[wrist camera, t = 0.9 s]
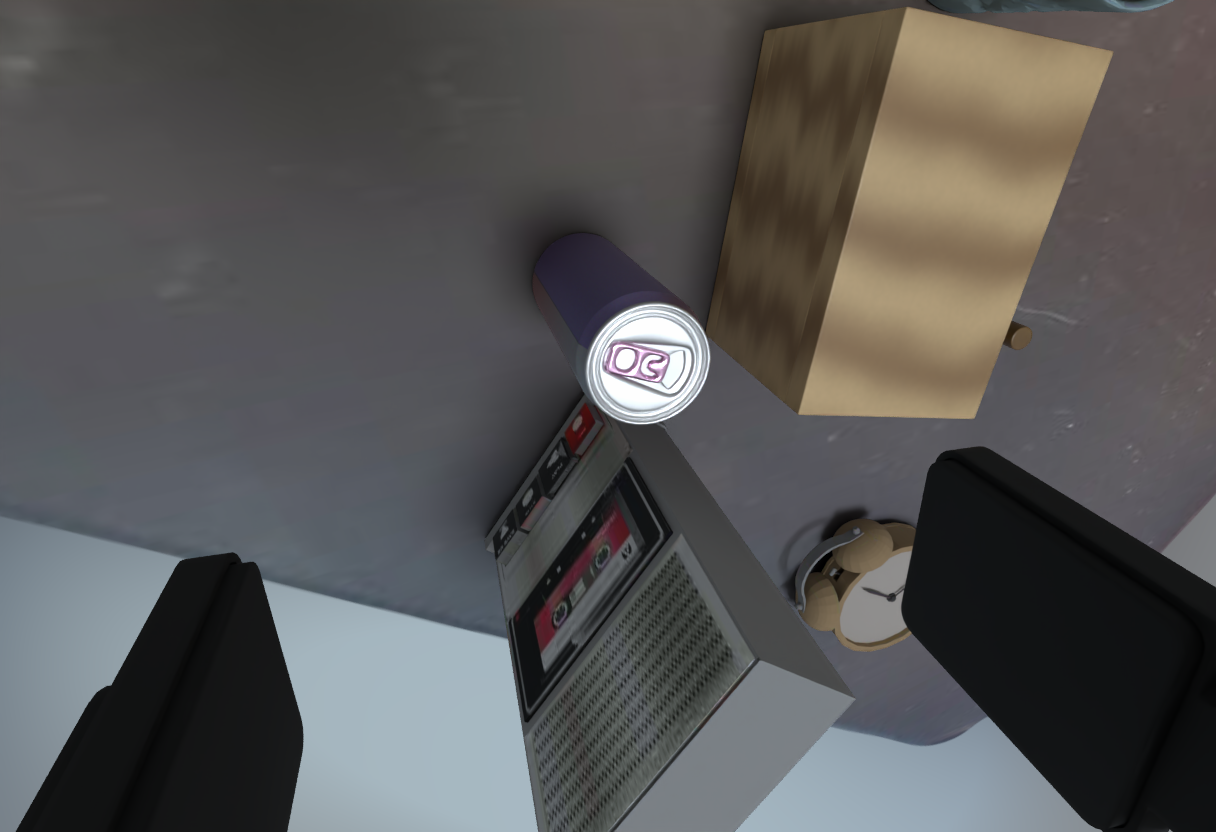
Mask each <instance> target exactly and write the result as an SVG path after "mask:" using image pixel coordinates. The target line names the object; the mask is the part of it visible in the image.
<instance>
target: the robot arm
mask: <svg viewBox="0 0 1216 832" xmlns="http://www.w3.org/2000/svg"><path fill="white" fill-rule="evenodd" d="M901 613H902V617H903V620H904V622H905V624H906V626H907V628H908V629H909V630H910V632H911V633H912V634H913V635H914V636H915V637H916V638H917V639H918V640H919V641H920V642H921V644H922V645H923V646H924V647H925V648H926V649H927V650H928V651H929V652H930V653H931V654H932V656H933V657H934V658H935V659H936V660H937V661H938V662H939V663H940V664H941V665H942V666H943V668H944V669H945V670H946V671H947V672H948V673H949V674H950V675H951V676H952V677H953V678H954V679H955V681H956V682H957V683H958V684H959V685H960V686H961V687H962V688H963V689H964V690H965V691H966V693H967V694H968V695H969V696H970V697H971V698H972V699H973V700H974V701H975V702H976V703H977V705H978V706H979V707H980V708H981V709H982V710H983V711H984V712H985V713H986V714H987V715H988V717H989V718H990V719H991V720H992V721H993V722H994V723H995V724H996V725H997V726H998V727H999V729H1000V730H1001V731H1002V732H1003V733H1004V734H1005V735H1006V736H1007V737H1008V738H1009V739H1010V740H1011V741H1012V743H1013V744H1014V745H1015V746H1016V747H1017V748H1018V749H1019V750H1020V751H1021V752H1022V754H1023V755H1024V756H1025V757H1026V758H1027V759H1028V760H1029V761H1030V762H1031V763H1032V764H1033V766H1034V767H1035V768H1036V769H1037V770H1038V771H1039V772H1040V773H1041V774H1042V775H1043V776H1044V777H1045V779H1046V780H1047V781H1048V782H1049V783H1050V784H1051V785H1052V786H1053V787H1054V788H1055V789H1056V791H1057V792H1058V793H1059V794H1060V795H1061V796H1062V797H1063V798H1064V799H1065V800H1066V801H1067V803H1068V804H1069V805H1070V806H1071V807H1072V808H1073V809H1074V810H1075V811H1076V812H1077V813H1078V814H1079V816H1080V817H1081V818H1082V819H1083V820H1085V821H1086V822H1087V823H1088V824H1089V825H1091V826H1093V827H1094V828H1097V829H1101V830H1102V831H1103V832H1168V831H1169V829H1170V830H1171V831H1173V832H1216V587H1214V586H1213V585H1211V584H1209V583H1208V582H1206V581H1204V580H1203V579H1201V578H1200V577H1198V576H1196V575H1195V574H1193V573H1191V572H1190V571H1188V570H1186V569H1185V568H1183V567H1182V566H1180V565H1178V564H1176V563H1175V562H1173V561H1172V560H1170V559H1168V558H1167V557H1165V556H1164V555H1162V554H1160V553H1159V552H1157V551H1155V550H1154V549H1152V548H1150V547H1149V546H1147V545H1146V544H1144V543H1142V542H1141V541H1139V540H1137V539H1136V538H1134V537H1132V536H1131V535H1129V534H1128V533H1126V532H1124V531H1123V530H1121V529H1119V528H1118V527H1116V526H1115V525H1113V524H1111V523H1110V522H1108V521H1106V520H1105V519H1103V518H1101V517H1100V516H1098V515H1097V514H1095V513H1093V512H1092V511H1090V510H1088V509H1087V508H1085V507H1083V506H1082V505H1080V504H1079V503H1077V502H1075V501H1074V500H1072V499H1070V498H1069V497H1067V496H1065V495H1064V494H1062V493H1061V492H1059V491H1057V490H1056V489H1054V488H1052V487H1051V486H1049V485H1047V484H1046V483H1044V482H1043V481H1041V480H1039V479H1038V478H1036V477H1034V476H1033V475H1031V474H1029V473H1028V472H1026V471H1025V470H1023V469H1021V468H1020V467H1018V466H1016V465H1015V464H1013V463H1012V462H1010V461H1008V460H1007V459H1005V458H1003V457H1002V456H1000V455H998V454H997V453H995V452H994V451H992V450H990V449H988V448H986V447H970V448H963V449H956V450H949V451H945V452H943V453H941V454H940V455H939V457H938V458H937V460H936V462H935V463H933V464H932V465H931V466H930V468H929V470H928V473H927V478H926V483H925V488H924V493H923V498H922V503H921V508H920V513H919V518H918V523H917V528H916V533H915V538H914V543H913V548H912V553H911V558H910V563H909V568H908V573H907V578H906V583H905V588H904V593H903V597H902V602H901ZM302 751H303V726H302V720H301V716H300V712H299V709H298V705H297V702H296V698H295V695H294V691H293V688H292V684H291V680H290V677H289V674H288V670H287V666H286V663H285V659H284V656H283V652H282V649H281V645H280V642H279V638H278V634H277V631H276V627H275V624H274V620H273V617H272V613H271V610H270V606H269V603H268V599H267V595H266V592H265V588H264V585H263V581H262V578H261V574H260V571H259V568H258V566H257V565H256V563H254V562H247V563H242V562H241V559H240V558H239V556H238V555H237V554H235V553H226V554H219V555H212V556H205V557H198V558H191V559H184V560H182V561H180V562H179V563H178V565H177V566H176V567H175V569H174V571H173V573H172V575H171V577H170V578H169V580H168V582H167V584H166V586H165V588H164V589H163V591H162V593H161V595H160V597H159V599H158V601H157V602H156V604H155V606H154V608H153V610H152V612H151V613H150V615H149V617H148V619H147V621H146V623H145V624H144V626H143V628H142V630H141V632H140V634H139V636H138V637H137V639H136V641H135V643H134V645H133V647H132V648H131V650H130V652H129V654H128V656H127V658H126V660H125V661H124V663H123V665H122V667H121V669H120V670H119V672H118V674H117V676H116V678H115V680H114V682H113V683H112V685H111V686H106V687H104V688H103V689H101V690H100V691H98V692H97V693H96V694H95V695H94V697H93V698H92V699H91V701H90V702H89V703H88V705H87V707H86V708H85V710H84V712H83V714H82V716H81V717H80V719H79V721H78V723H77V724H76V726H75V728H74V730H73V731H72V733H71V735H70V737H69V738H68V740H67V742H66V744H65V745H64V747H63V749H62V751H61V753H60V754H59V756H58V758H57V760H56V761H55V763H54V765H53V767H52V769H51V770H50V772H49V774H48V776H47V777H46V779H45V781H44V783H43V784H42V786H41V788H40V790H39V791H38V793H37V795H36V797H35V799H34V800H33V802H32V804H31V806H30V808H29V809H28V811H27V813H26V814H25V816H24V818H23V820H22V821H21V823H20V825H19V827H18V828H17V830H16V832H287V830H288V824H289V819H290V814H291V809H292V803H293V799H294V794H295V788H296V783H297V778H298V773H299V767H300V762H301V757H302Z"/></svg>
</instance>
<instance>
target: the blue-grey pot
mask: <svg viewBox="0 0 1216 832" xmlns="http://www.w3.org/2000/svg"><path fill="white" fill-rule="evenodd" d="M928 1H929V2H931V3H932V4H933V5H934V6H936V7H938V8H940V9H942V10H945V11H948V12H952V13H982V12H986V11H991V12H995V13H1001V12H1008V13H1013V12H1030V11H1039V12H1049V11H1062V10H1065V11H1069V10H1077V11H1094V12H1130V13H1131V12H1143V11H1147V10H1152V9H1155V8H1157V7H1160V6H1163V5H1165V4H1167V3H1169V2H1172V1H1174V0H928Z"/></svg>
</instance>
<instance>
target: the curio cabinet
mask: <svg viewBox="0 0 1216 832" xmlns="http://www.w3.org/2000/svg"><path fill="white" fill-rule="evenodd" d="M1112 55H1113V51H1110V50H1105V49H1100V48H1096V47H1091V46H1087V45H1082V44H1077V43H1073V42H1068V41H1063V40H1059V39H1054V38H1050V37H1045V36H1040V35H1036V34H1031V33H1027V32H1022V31H1017V30H1013V29H1008V28H1004V27H999V26H994V25H990V24H985V23H980V22H976V21H971V20H967V19H962V18H957V17H953V16H948V15H944V14H939V13H934V12H930V11H925V10H921V9H916V8H911V7H903V8H897V9H891V10H884V11H878V12H872V13H866V14H860V15H854V16H848V17H842V18H836V19H830V20H824V21H818V22H812V23H806V24H800V25H794V26H788V27H782V28H777V29H771V30H766V31H765V33H764V38H763V43H762V48H761V53H760V58H759V64H758V69H757V74H756V79H755V84H754V89H753V94H752V99H751V104H750V109H749V114H748V119H747V124H746V129H745V134H744V140H743V145H742V150H741V155H740V160H739V165H738V170H737V175H736V180H735V185H734V190H733V195H732V200H731V205H730V211H729V216H728V221H727V226H726V231H725V236H724V241H723V246H722V251H721V256H720V261H719V266H718V271H717V276H716V282H715V287H714V292H713V297H712V302H711V307H710V312H709V317H708V322H707V327H706V332H705V333H706V335H707V336H708V337H709V338H710V339H712V340H713V341H714V342H715V343H716V344H717V345H718V346H719V347H720V348H722V349H723V350H724V351H725V352H726V353H727V354H729V355H730V356H731V357H732V358H733V359H734V360H735V361H737V362H738V363H739V364H740V365H741V366H742V367H744V368H745V369H746V370H747V371H748V372H749V373H750V374H752V375H753V376H754V377H755V378H756V379H757V380H759V381H760V382H761V383H762V384H763V385H764V386H765V387H767V388H768V389H769V390H770V391H771V392H772V393H774V394H775V395H776V396H777V397H778V398H779V399H780V400H782V401H783V402H784V403H785V404H786V405H788V406H789V407H790V408H791V409H792V410H793V411H795V412H796V413H797V414H798V415H831V416H873V417H915V418H957V419H974V418H975V415H976V413H977V410H978V407H979V405H980V402H981V399H982V397H983V394H984V392H985V389H986V386H987V384H988V381H989V378H990V376H991V373H992V371H993V368H994V365H995V363H996V360H997V357H998V355H999V352H1000V350H1001V347H1002V344H1003V342H1004V339H1005V336H1006V334H1007V331H1008V328H1009V326H1010V323H1011V321H1012V318H1013V315H1014V313H1015V310H1016V307H1017V305H1018V302H1019V300H1020V297H1021V294H1022V292H1023V289H1024V286H1025V284H1026V281H1027V279H1028V276H1029V273H1030V271H1031V268H1032V265H1033V263H1034V260H1035V257H1036V255H1037V252H1038V250H1039V247H1040V244H1041V242H1042V239H1043V236H1044V234H1045V231H1046V229H1047V226H1048V223H1049V221H1050V218H1051V215H1052V213H1053V210H1054V208H1055V205H1056V202H1057V200H1058V197H1059V194H1060V192H1061V189H1062V187H1063V184H1064V181H1065V179H1066V176H1067V173H1068V171H1069V168H1070V165H1071V163H1072V160H1073V158H1074V155H1075V152H1076V150H1077V147H1078V144H1079V142H1080V139H1081V137H1082V134H1083V131H1084V129H1085V126H1086V123H1087V121H1088V118H1089V116H1090V113H1091V110H1092V108H1093V105H1094V102H1095V100H1096V97H1097V94H1098V92H1099V89H1100V87H1101V84H1102V81H1103V79H1104V76H1105V73H1106V71H1107V68H1108V66H1109V63H1110V60H1111V58H1112Z"/></svg>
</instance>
